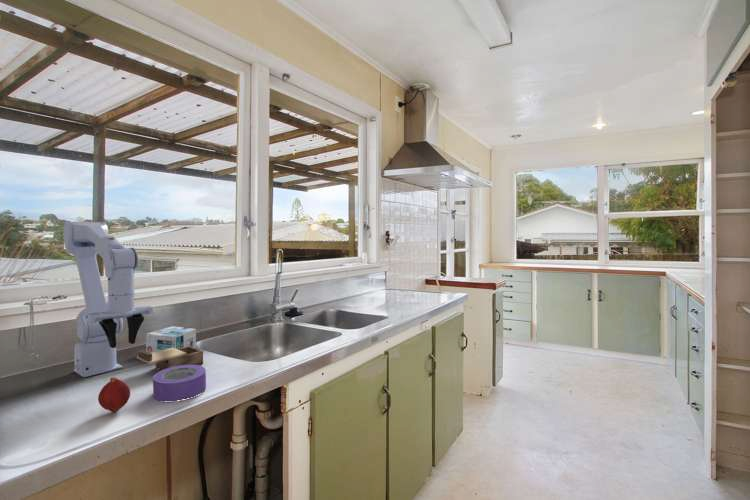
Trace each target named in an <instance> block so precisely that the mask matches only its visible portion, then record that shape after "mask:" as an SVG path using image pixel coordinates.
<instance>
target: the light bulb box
mask: <svg viewBox="0 0 750 500" xmlns="http://www.w3.org/2000/svg"><path fill="white" fill-rule="evenodd" d="M187 346H190V347H193V348H196V346H197V329H196V328H191V327H183V326H173V325H172V326H169V327H165V328H162V329H158V330H154V331H151V332H147V333H146V334H145V351H146V352H149V353H152V352H156V351H161V350H165V349H169V348H175V349H179V348H183V347H187Z"/></svg>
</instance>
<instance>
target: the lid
mask: <svg viewBox="0 0 750 500" xmlns="http://www.w3.org/2000/svg"><path fill="white" fill-rule="evenodd" d="M184 355H187V353H186V352H183V351H181V350H178V349H175V348H169V349H165V350H161V351H156V352H152V353H149V352H146V350H144V349H140V350H138V355H137V356H136V359H137V360H140V361H142V362H144V363H147V364H149V365H153V364H156V363H157V362H161V361H165V360H169V359H173V358H177V357H180V356H184Z"/></svg>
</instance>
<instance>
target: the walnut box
mask: <svg viewBox="0 0 750 500" xmlns="http://www.w3.org/2000/svg"><path fill="white" fill-rule="evenodd" d="M178 350H181V351H183V352H186V353H187V355H184V356H180V357H177V358H173V359H169V360H165V361H161V362H157V363H155V368H156V369H158V370H160V371H162V370H164V369H167V368H171V367H175V366H180V365H199V366H202V365H203V364H204V350H201V349H198V348H196V347H195V348H193V347H190V346H187V347H183V348H179V349H178Z"/></svg>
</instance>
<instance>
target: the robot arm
mask: <svg viewBox="0 0 750 500" xmlns="http://www.w3.org/2000/svg"><path fill="white" fill-rule="evenodd" d="M62 237H63V242H64V246H65V249H66V252H67V253H68V254H71V255H73V256H74V260H75V263H76V266H77V271H78V275H79V280H80V284H81V289H82V294H83V298H84V302H85V308H84V309H82V310H81V311H80V312H78V314H77V316H76V318H75V321H76V332H77V337H78V338H79V339H80V340H81V341H82V342H81V341H80V342H77V343H75V345H74V349H73V357H74V358H73V360H74V362H73V363H74V369H73V371H74V372H75V373H76V374H78V375H79V376H81V377H82V378H87V377H90V376H94V375H99V374H102V373H105V372H110V371H115V370H118V369H121V368H123V365H121V364H119V363H117V338H119V335H120V334H121V333H122V331H123V330H124V321H123V319H124V318H126V322H127V329H128V331H127V332H128V343H130V344H131V345H133V344H135V343H136V339H137V337H138V336H137V335H138V332H139V329H140V328H141V325H142V324H143V323H144V320H145V316H144V315H152V314H153V312H154V311H153V310H154V309H153V306H151V305H147V306H137V307H135V270H136V268H137V266H138V263H139V256H138V252H137V251H136V249H135V248H134V247H125V246H124V245H123V243H121V242H120V240H118V239H117V238H116V237H115V236H114V235H109V227H108V225H107V223H105V222H104V221H99V222H98V221H71V220H67V221H66V222H65V223H64V224H63V228H62ZM97 255H99V256H100V257H101V259H102V262H103V267H104V273H105V277H106V278H107V294H108V295H107V300H108V301H106V296H105V292H104V286H103V283H102V279H101V274H100V271H99V270H100V269H99V265H98V261H97Z"/></svg>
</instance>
